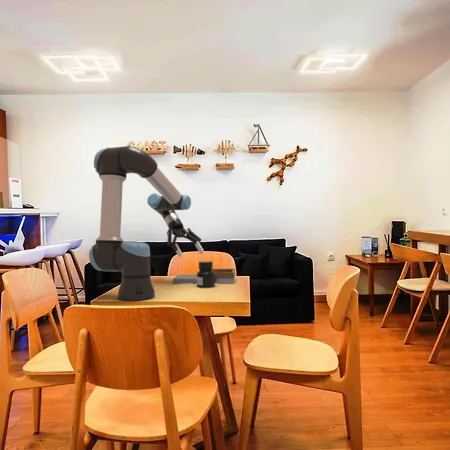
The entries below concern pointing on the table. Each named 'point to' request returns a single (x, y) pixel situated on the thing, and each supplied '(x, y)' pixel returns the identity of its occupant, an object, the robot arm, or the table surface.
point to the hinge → (193, 279)
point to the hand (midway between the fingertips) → (191, 253)
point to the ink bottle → (205, 274)
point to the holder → (224, 273)
